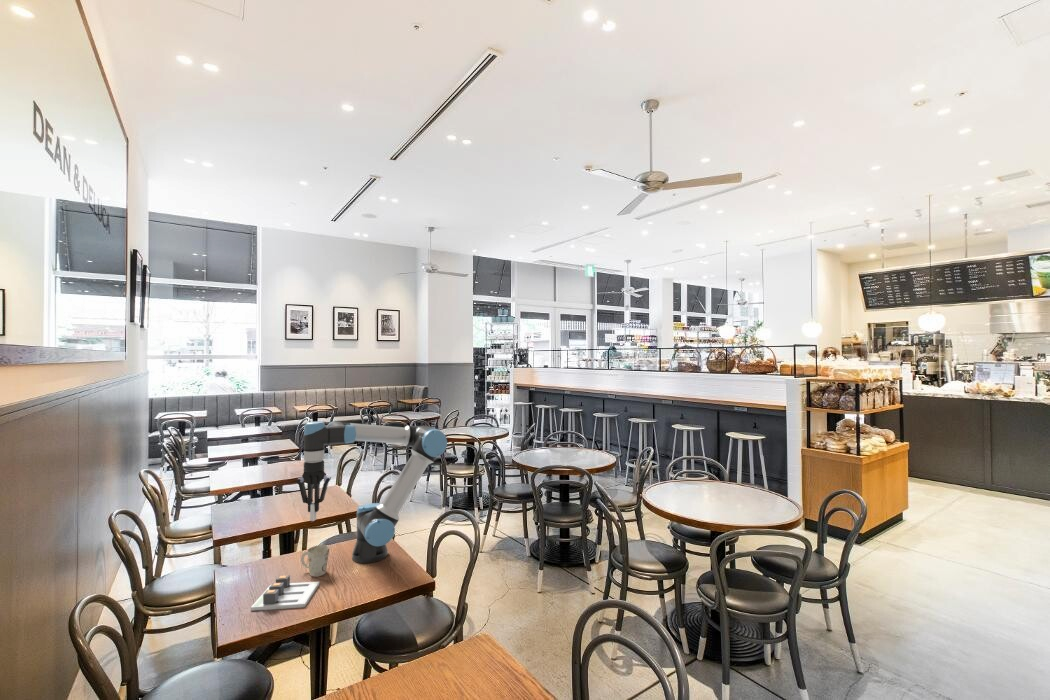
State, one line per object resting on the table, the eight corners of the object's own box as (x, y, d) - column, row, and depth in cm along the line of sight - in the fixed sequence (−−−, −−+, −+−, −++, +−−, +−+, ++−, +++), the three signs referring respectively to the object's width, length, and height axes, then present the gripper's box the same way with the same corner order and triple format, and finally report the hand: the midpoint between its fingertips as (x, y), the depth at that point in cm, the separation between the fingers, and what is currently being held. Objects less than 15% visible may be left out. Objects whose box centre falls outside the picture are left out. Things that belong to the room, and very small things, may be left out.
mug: (320, 578, 187) (321, 553, 188) (293, 576, 190) (293, 551, 190) (333, 569, 195) (333, 545, 196) (306, 567, 198) (307, 543, 198)
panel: (319, 584, 182) (319, 572, 183) (304, 607, 166) (304, 593, 166) (270, 587, 180) (270, 574, 180) (250, 610, 163) (251, 596, 163)
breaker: (278, 599, 168) (278, 588, 168) (275, 603, 165) (275, 592, 165) (266, 599, 168) (266, 589, 168) (263, 604, 165) (263, 593, 165)
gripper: (333, 458, 191) (332, 516, 190) (300, 459, 189) (299, 517, 188) (328, 462, 183) (327, 522, 183) (293, 463, 182) (292, 523, 181)
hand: (313, 519), depth 186 cm, fingers closed
